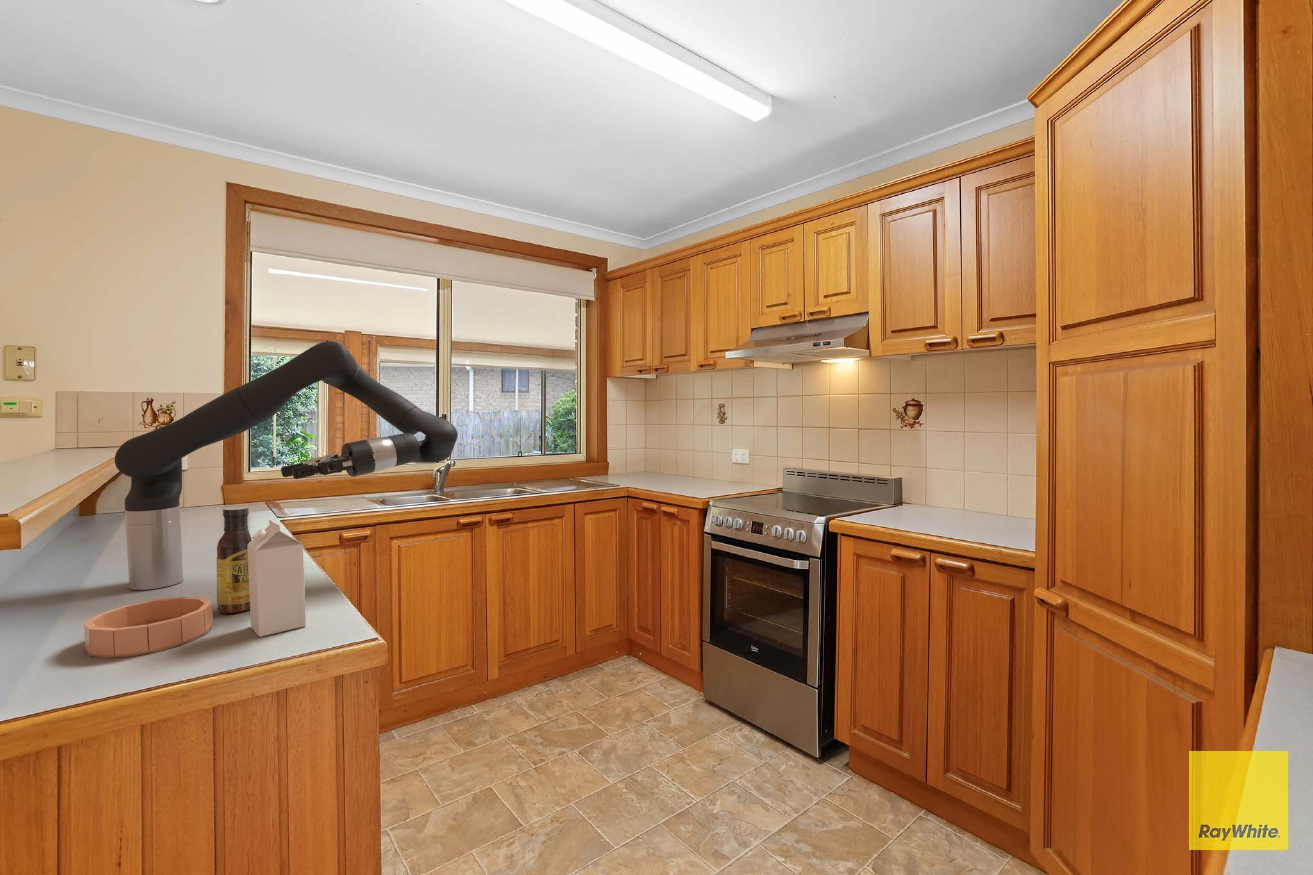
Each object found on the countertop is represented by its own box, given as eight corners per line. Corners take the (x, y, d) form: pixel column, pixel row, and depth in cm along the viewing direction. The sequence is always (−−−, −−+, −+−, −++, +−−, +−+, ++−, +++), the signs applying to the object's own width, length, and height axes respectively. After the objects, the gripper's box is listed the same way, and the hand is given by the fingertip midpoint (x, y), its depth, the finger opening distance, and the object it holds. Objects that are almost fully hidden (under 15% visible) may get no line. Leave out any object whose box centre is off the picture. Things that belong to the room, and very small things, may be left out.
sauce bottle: (236, 616, 110) (231, 511, 109) (209, 614, 112) (204, 510, 111) (266, 604, 117) (261, 505, 116) (239, 602, 118) (235, 505, 117)
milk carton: (296, 617, 110) (292, 516, 109) (306, 627, 105) (302, 521, 104) (250, 627, 105) (246, 521, 104) (259, 638, 100) (254, 527, 99)
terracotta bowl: (78, 641, 99) (76, 615, 98) (195, 614, 111) (194, 591, 111) (99, 667, 89) (97, 637, 89) (224, 634, 102) (223, 608, 101)
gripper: (354, 439, 135) (274, 454, 123) (378, 439, 125) (292, 455, 113) (361, 471, 136) (282, 489, 124) (385, 473, 126) (301, 493, 114)
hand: (287, 473), depth 119 cm, fingers open, 8 cm apart
